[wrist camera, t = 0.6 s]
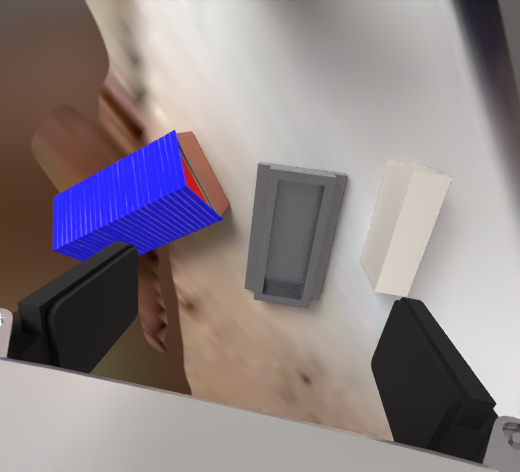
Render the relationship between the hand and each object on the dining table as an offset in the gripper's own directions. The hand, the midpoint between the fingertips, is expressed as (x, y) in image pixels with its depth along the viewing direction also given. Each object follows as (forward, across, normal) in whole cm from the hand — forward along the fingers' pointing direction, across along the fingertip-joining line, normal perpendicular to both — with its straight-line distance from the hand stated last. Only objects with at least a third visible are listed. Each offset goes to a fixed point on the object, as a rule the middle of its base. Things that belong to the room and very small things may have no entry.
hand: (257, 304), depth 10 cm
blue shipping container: (+33, +19, +7) cm, 38 cm away
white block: (+32, -15, +3) cm, 36 cm away
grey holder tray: (+32, -2, +9) cm, 34 cm away
